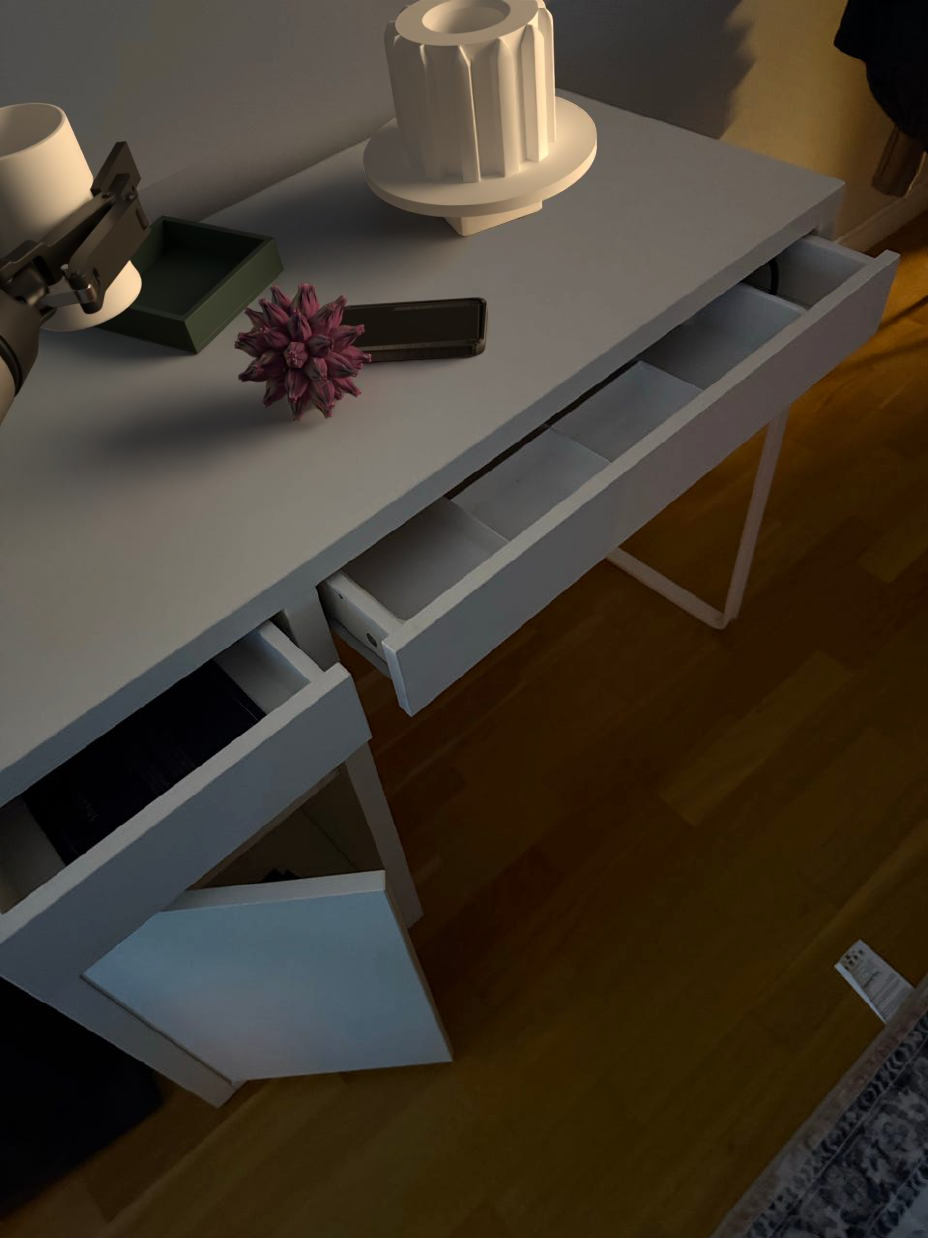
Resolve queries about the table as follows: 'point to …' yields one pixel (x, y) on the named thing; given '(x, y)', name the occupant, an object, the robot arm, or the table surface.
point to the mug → (49, 197)
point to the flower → (302, 351)
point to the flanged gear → (476, 115)
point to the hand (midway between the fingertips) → (71, 165)
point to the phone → (419, 328)
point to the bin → (195, 282)
